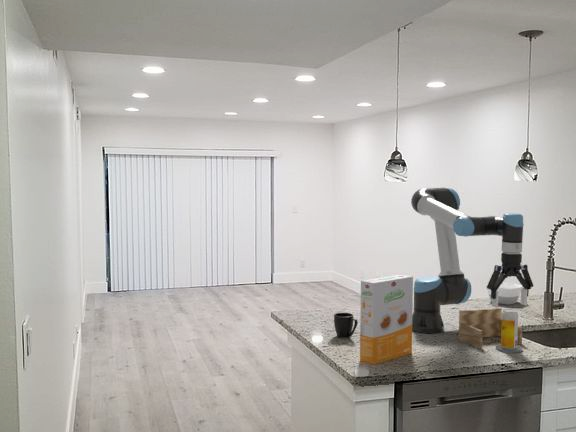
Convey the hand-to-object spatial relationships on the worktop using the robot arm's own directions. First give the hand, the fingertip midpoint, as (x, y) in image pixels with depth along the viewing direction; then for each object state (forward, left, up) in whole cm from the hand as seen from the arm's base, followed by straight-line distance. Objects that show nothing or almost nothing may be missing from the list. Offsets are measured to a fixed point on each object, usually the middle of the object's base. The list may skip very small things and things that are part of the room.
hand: (509, 305), depth 231 cm
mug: (-55, +35, -18) cm, 67 cm away
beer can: (0, 0, -17) cm, 17 cm away
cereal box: (-51, +6, -18) cm, 54 cm away
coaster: (0, 0, -18) cm, 18 cm away
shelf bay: (0, +12, -18) cm, 21 cm away
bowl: (+57, +76, -18) cm, 96 cm away
